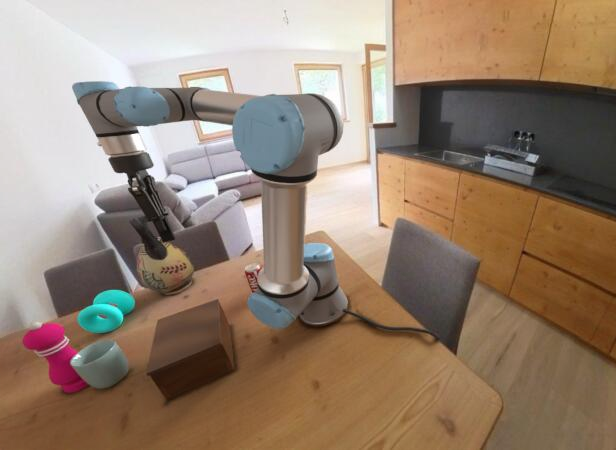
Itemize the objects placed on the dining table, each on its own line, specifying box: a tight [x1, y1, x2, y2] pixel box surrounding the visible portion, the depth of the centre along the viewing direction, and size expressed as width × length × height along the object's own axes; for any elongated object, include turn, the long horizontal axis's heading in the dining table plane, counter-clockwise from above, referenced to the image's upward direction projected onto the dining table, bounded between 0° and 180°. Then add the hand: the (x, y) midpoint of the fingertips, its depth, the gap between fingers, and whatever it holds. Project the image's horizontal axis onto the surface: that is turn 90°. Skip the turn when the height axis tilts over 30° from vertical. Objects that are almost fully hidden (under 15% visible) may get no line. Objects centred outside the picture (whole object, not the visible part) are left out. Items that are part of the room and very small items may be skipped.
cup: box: [70, 338, 130, 390], centre depth 68 cm, size 8×8×10 cm
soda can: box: [244, 262, 263, 294], centre depth 95 cm, size 5×5×12 cm
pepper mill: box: [21, 321, 90, 394], centre depth 66 cm, size 7×7×20 cm
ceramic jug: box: [129, 215, 195, 296], centre depth 96 cm, size 17×15×30 cm
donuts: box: [77, 289, 136, 334], centre depth 86 cm, size 10×10×10 cm
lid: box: [145, 298, 222, 377], centre depth 70 cm, size 19×14×1 cm
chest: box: [149, 301, 235, 402], centre depth 72 cm, size 18×14×10 cm
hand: (169, 240), depth 77 cm, fingers closed
